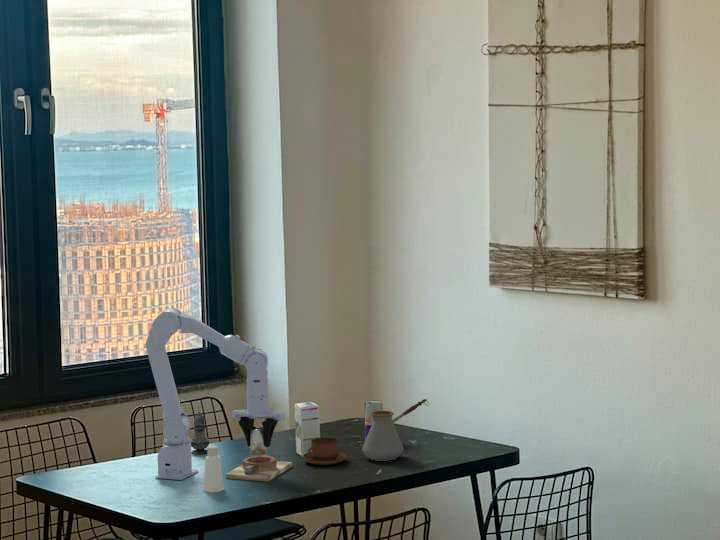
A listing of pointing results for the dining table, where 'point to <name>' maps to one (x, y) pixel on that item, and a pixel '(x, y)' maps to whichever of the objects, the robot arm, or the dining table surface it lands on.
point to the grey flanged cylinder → (199, 436)
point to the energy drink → (369, 408)
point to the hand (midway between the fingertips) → (259, 445)
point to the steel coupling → (257, 441)
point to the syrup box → (306, 426)
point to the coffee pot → (385, 436)
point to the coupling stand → (259, 468)
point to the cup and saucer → (324, 452)
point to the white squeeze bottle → (213, 471)
